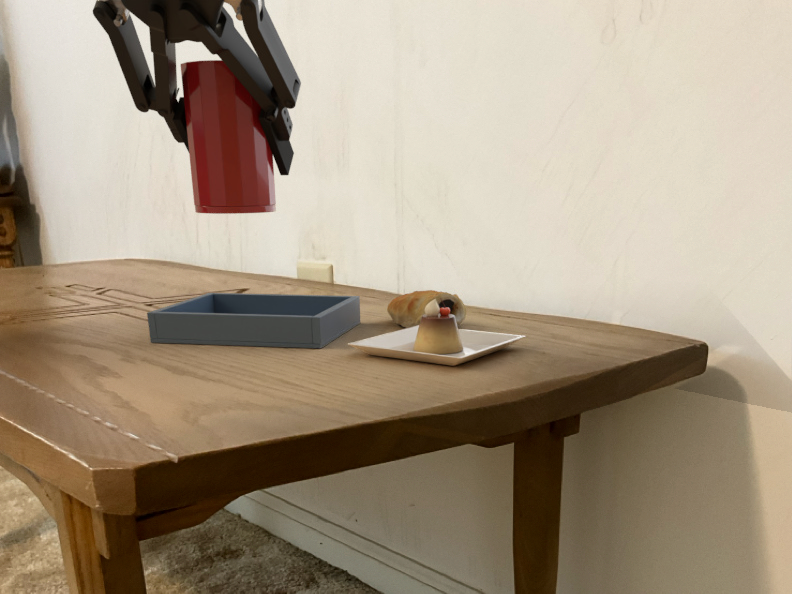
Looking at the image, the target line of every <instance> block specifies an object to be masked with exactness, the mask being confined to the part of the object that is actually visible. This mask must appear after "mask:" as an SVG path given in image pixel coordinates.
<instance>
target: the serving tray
mask: <svg viewBox="0 0 792 594" xmlns="http://www.w3.org/2000/svg"><path fill="white" fill-rule="evenodd" d="M146 317H147V325H148V333H149V342H150V343H152V344H153V343H154V344H176V345H177V344H179V345H180V344H181V345H209V346H210V345H211V346H235V347H237V346H240V347H264V348H265V347H268V348H292V349H293V348H297V349H323V348H324V347H326V346H327V345H328V344H330V343H332V342H333V341H335V340H336V339H338V338H340V337H341V336H343V335H344V334H346V333H347V332H349V331H351V330H352V329H353V328H355V327H357V326H359V324H361V297H360V295H332V294H331V295H329V294H327V295H326V294H285V293H284V294H282V293H281V294H280V293H242V292H241V293H237V292H236V293H235V292H234V293H233V292H207V293H205V294H201V295H198V296H195V297H192V298H189V299H186V300H183V301H179V302H176V303H173V304H170V305H167V306H164V307H161V308H158V309H153V310H151V311H148V312H147V313H146Z"/></svg>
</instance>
